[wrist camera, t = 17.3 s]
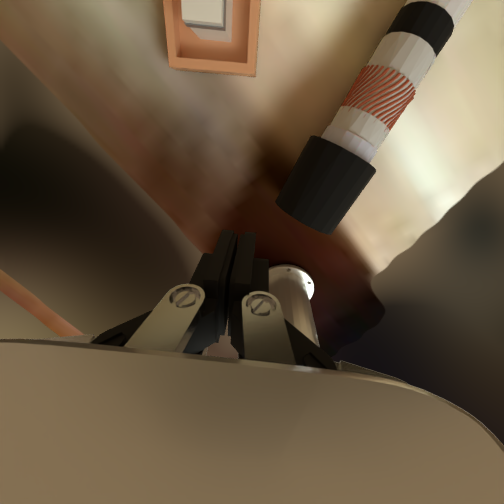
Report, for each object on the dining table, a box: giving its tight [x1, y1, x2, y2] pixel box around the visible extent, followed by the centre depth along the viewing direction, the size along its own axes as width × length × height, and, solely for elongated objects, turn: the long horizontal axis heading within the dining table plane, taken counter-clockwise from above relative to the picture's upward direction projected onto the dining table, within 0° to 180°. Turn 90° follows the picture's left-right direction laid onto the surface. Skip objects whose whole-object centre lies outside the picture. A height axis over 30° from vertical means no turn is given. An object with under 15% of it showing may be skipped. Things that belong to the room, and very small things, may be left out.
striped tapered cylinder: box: [275, 0, 473, 235], centre depth 28 cm, size 10×34×10 cm, turn 154°
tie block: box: [181, 0, 233, 42], centre depth 24 cm, size 4×4×7 cm
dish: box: [163, 0, 261, 77], centre depth 27 cm, size 11×11×3 cm
